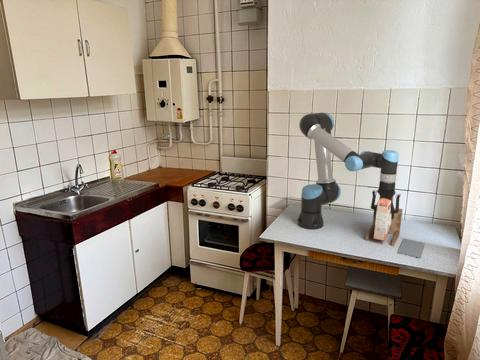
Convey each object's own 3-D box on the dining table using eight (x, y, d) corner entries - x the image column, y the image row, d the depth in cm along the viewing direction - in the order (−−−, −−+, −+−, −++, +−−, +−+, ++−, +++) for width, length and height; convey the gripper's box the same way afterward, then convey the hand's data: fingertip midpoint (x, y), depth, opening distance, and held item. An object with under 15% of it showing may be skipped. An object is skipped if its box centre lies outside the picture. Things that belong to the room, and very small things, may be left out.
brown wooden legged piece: (365, 240, 184) (367, 213, 180) (372, 229, 197) (374, 204, 193) (394, 246, 176) (397, 218, 172) (399, 234, 189) (402, 209, 185)
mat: (397, 253, 169) (397, 252, 169) (403, 239, 184) (403, 238, 184) (420, 258, 164) (420, 257, 164) (424, 244, 178) (424, 242, 178)
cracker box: (385, 241, 176) (389, 203, 171) (373, 239, 179) (376, 201, 174) (390, 231, 188) (394, 195, 182) (378, 229, 191) (382, 193, 185)
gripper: (366, 180, 177) (362, 222, 184) (406, 185, 168) (401, 229, 174) (369, 177, 183) (366, 217, 190) (409, 181, 174) (403, 224, 180)
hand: (383, 223), depth 182 cm, fingers closed on cracker box, 6 cm apart
